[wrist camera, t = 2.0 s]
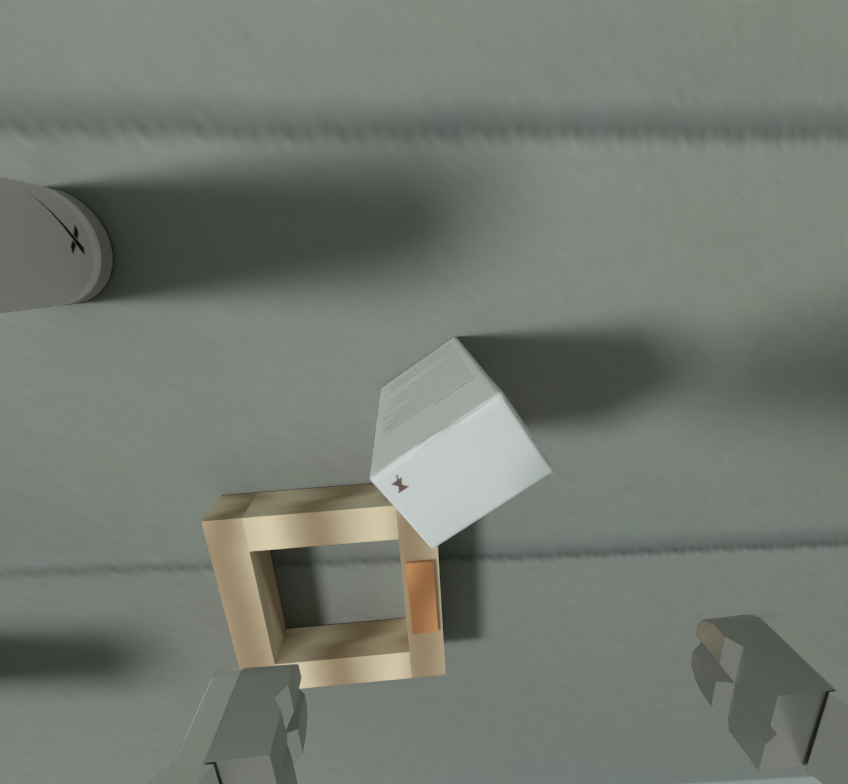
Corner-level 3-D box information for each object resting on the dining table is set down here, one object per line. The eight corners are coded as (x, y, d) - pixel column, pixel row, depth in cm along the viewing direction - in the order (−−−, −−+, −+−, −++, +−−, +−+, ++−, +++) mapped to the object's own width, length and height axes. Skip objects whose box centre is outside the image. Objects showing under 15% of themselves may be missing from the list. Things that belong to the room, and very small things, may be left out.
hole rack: (431, 478, 29) (435, 503, 26) (441, 639, 33) (445, 677, 30) (221, 495, 28) (199, 523, 25) (259, 656, 33) (244, 696, 30)
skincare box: (417, 436, 28) (428, 555, 17) (379, 387, 27) (363, 479, 15) (492, 385, 27) (558, 473, 16) (457, 333, 26) (500, 387, 15)
